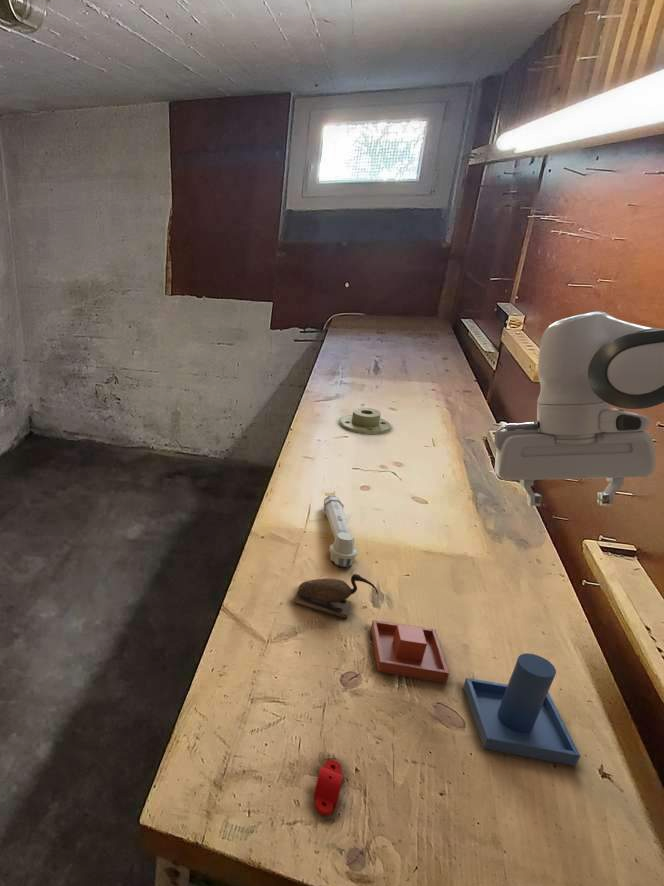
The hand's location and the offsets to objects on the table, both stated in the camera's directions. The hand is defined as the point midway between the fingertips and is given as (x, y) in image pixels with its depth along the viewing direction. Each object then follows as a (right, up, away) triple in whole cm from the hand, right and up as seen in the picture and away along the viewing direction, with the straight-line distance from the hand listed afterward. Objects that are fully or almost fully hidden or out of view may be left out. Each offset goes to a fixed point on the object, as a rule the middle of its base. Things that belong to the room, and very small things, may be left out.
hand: (568, 504), depth 91 cm
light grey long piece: (-23, -10, +37) cm, 45 cm away
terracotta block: (-24, -25, +5) cm, 35 cm away
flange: (+8, +19, +95) cm, 98 cm away
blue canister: (-14, -31, -8) cm, 35 cm away
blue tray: (-14, -32, -8) cm, 36 cm away
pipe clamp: (-45, -37, -16) cm, 60 cm away
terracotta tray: (-24, -26, +5) cm, 36 cm away
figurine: (-32, -21, +16) cm, 42 cm away
